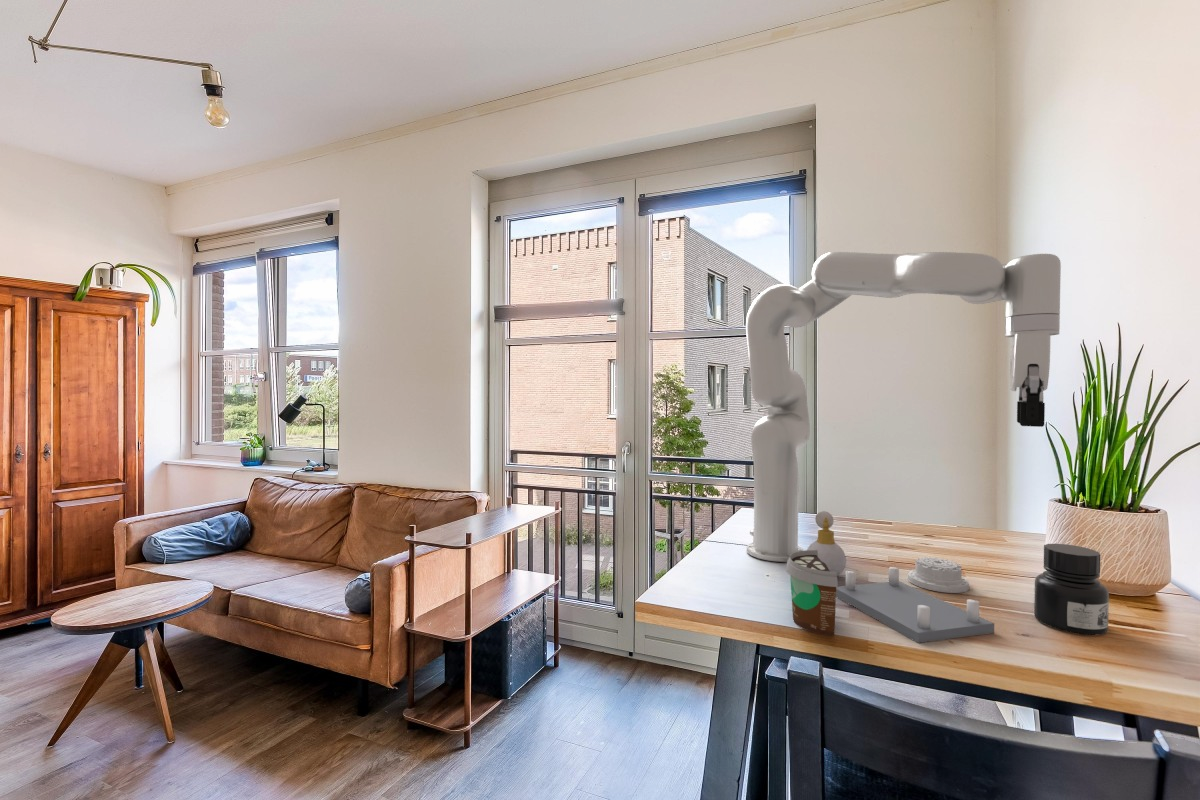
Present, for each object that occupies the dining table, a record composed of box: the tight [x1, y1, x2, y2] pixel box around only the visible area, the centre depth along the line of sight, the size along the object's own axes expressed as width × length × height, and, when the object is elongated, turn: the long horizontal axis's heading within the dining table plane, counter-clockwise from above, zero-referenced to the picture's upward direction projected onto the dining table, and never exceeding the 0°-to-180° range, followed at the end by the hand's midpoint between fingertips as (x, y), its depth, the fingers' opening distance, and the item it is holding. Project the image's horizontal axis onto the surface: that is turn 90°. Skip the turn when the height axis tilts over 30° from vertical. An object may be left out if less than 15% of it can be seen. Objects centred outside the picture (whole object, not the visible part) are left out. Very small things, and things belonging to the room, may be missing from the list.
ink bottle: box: [1033, 543, 1110, 636], centre depth 86 cm, size 10×9×12 cm
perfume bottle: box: [806, 510, 847, 577], centre depth 110 cm, size 8×10×12 cm
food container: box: [785, 549, 839, 637], centre depth 87 cm, size 12×6×10 cm, turn 172°
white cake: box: [907, 556, 970, 594], centre depth 105 cm, size 10×4×10 cm
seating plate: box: [836, 566, 995, 644], centre depth 91 cm, size 19×14×4 cm
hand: (1029, 424), depth 96 cm, fingers open, 9 cm apart
